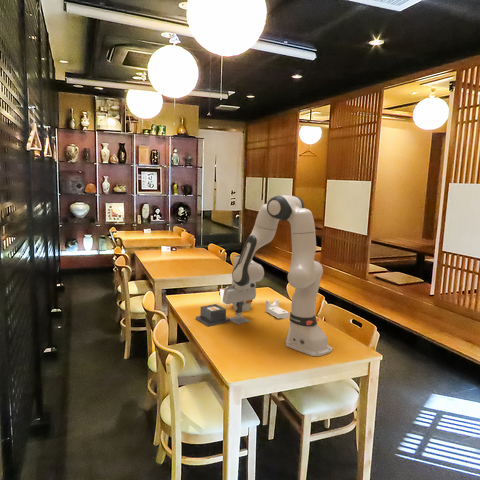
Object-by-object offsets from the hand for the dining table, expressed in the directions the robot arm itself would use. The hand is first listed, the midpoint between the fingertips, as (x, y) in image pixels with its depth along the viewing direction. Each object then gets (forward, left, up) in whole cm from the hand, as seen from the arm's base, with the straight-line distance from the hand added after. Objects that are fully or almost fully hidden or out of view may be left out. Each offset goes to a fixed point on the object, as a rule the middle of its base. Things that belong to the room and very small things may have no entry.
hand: (238, 309), depth 207 cm
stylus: (0, 0, -3) cm, 3 cm away
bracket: (-4, -25, -7) cm, 26 cm away
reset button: (+7, +12, -5) cm, 15 cm away
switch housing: (+7, +12, -6) cm, 15 cm away
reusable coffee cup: (+14, -14, -7) cm, 21 cm away
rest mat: (0, 0, -6) cm, 6 cm away
